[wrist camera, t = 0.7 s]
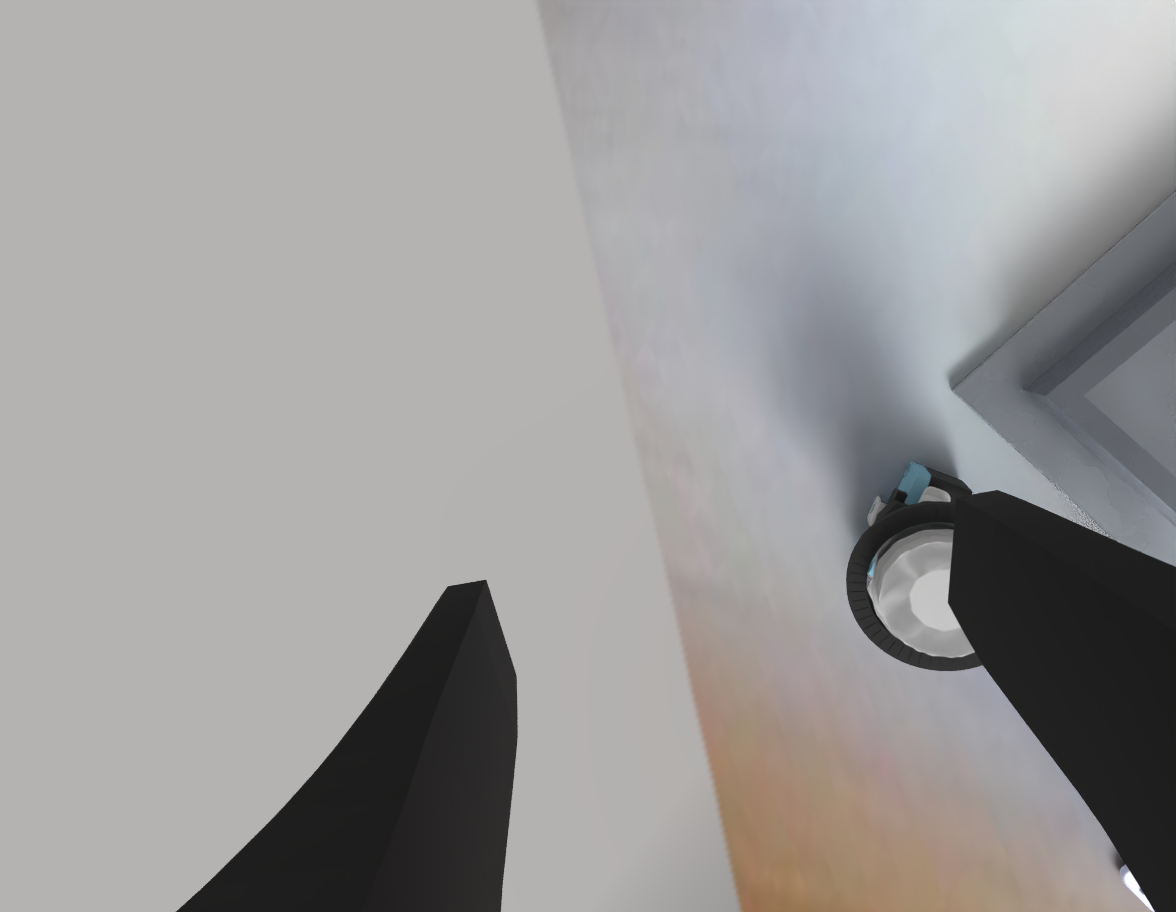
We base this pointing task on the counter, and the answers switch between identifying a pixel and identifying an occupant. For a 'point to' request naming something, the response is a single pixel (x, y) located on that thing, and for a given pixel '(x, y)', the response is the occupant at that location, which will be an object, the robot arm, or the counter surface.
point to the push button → (911, 573)
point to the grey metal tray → (1100, 388)
